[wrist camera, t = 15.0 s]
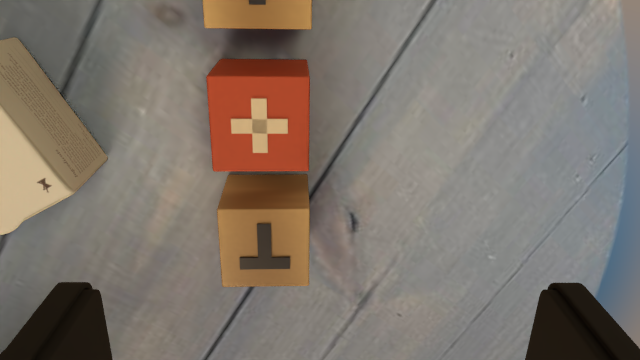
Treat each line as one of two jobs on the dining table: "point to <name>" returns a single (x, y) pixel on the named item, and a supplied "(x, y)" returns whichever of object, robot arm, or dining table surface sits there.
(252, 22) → the line block
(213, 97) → the red cross cube
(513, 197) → the dining table surface
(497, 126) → the dining table surface
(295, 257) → the wooden letter t cube
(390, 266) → the dining table surface
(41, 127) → the small box
